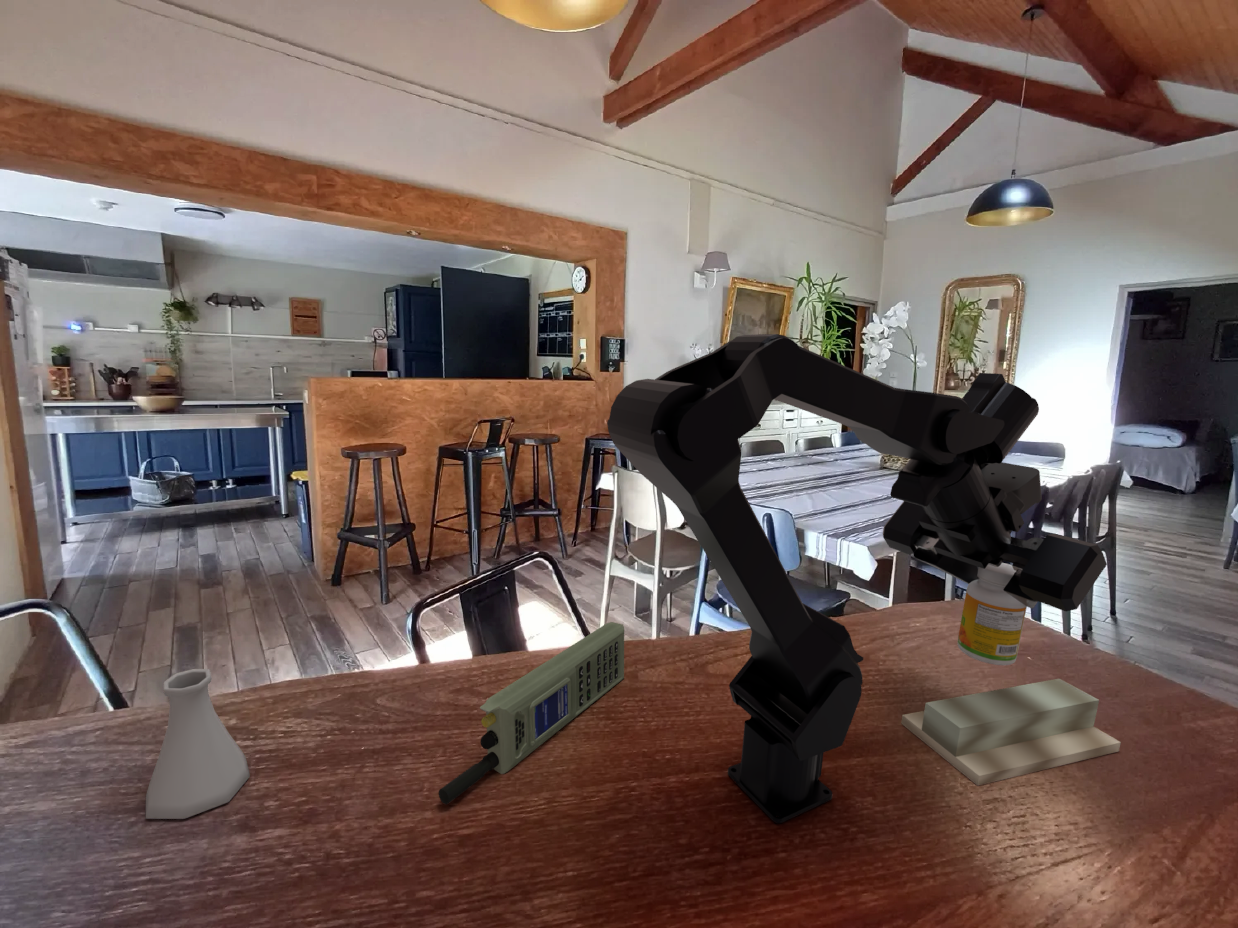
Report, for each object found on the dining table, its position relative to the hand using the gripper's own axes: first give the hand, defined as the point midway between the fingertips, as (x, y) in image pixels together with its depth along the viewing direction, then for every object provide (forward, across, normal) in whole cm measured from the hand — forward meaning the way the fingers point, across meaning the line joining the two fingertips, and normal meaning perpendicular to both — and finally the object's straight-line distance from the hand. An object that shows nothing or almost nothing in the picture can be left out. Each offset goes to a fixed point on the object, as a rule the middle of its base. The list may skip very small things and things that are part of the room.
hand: (1004, 593), depth 61 cm
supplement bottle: (+4, 0, +6) cm, 7 cm away
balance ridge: (+7, -4, +12) cm, 14 cm away
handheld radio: (-22, +16, +42) cm, 50 cm away
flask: (-42, +20, +63) cm, 78 cm away
